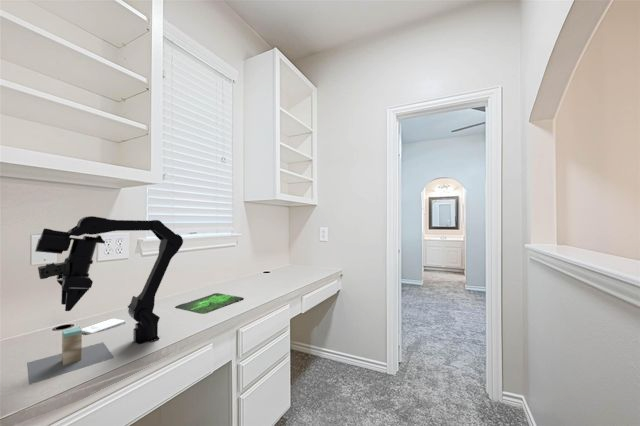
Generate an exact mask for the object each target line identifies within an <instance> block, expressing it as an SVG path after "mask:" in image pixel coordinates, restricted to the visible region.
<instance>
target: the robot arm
mask: <svg viewBox="0 0 640 426" xmlns="http://www.w3.org/2000/svg"><path fill="white" fill-rule="evenodd" d="M116 231H117V232H118V231H119V232H121V231H123V232H126V231H127V232H128V231H130V232H131V231H133V232H134V231H151V232H152V233H153V234H154V236H155V237H156V238H157V239H159V241H160V242H159V246H158V255H157V257H156V260H155V262H154V263H153V266H152V268H151V271H150V274H149V275H148V277H147V279H146V282H145V284H144V286H143V289H142V291H141V292H140V293H139V295H137V296H135V295H133V296H132V298H131V300H130V303H129V305H127V309H128V311H127V312H128V315H129V317H131V318H132V319H133V320H134V321H135V322H136V323H134V325H135V326H134V327H135V328H133V331H132V332H133V335H132V336H133V337H132V338H133V341H134V342H135V343H136V344H137V345H141V344H145V343H148V342H149V343H150V342H154V341H157V340H160V336H158V332H159V331H158V330H159V329H158V328H159V327H158V326H159V325H158V323H159V321H160V316H158V315H157V314H156V313H154V307H155V298H156V294H157V292H158V290H159V288H160V285H161V283H162V280H163V278H164V276H165V274H166V273H167V272H166V271H167V269H168V266H169V265H170V262H171V260H172V259H173V257H174V256H175V255H176V254H177V253H178V252H179V250H180V249H181V247H182V246H183V244H184V239H183V237H182V236H181V235H180V234H178V233H175V232H174V231H173V230H172V229H170V228H168V227H167V226H166V225H165V224H164V223H163V222H162V221H161V220H159V219H152V220H132V219H130V220H129V219H128V220H127V219H126V220H125V219H121V220H120V219H112V218H111V219H110V218H106V217H105V218H104V217H101V216H94V215H93V216H90V215H88V216H84V217H81V218H80V219H79V220H78V222H77V225H75V226H74V227H73V228H71V229H69V230H68V231H61V230H54V229H50V228H43V230H42V233H41V234H40V236H39V238H38V240H37V244H36V246H35V250H34V251H35V252H37V253H38V252H39V253H47V254H48V253H49V254H57V255H58V254H60V255H62V254H63V252H67V251H69V254H68V256H67V257H66V258H64V261H63V262H57V263H54V262H52V263H47V264H45V265H41V266H38V267H37V270H38V277H39V279H40V280H45V279H48V278H52V277H56V282H57V283H58V284H59V285H60V286H61V300H60V301H61V302H60V303H61V305H65V307H64V308H65V309H64V311H66V312H70V311H72V309H73V308H74V307H75V306H76V304H78V302H79V301H80V300H81V299H82V297H83V296H84V295H85V294H86V293H88V291H89V290H90V289H91V288H92V285H93V282H94V281H93V280H92V279H91V277H90V274H89V271H90V269H91V268H90V267H91V265H92V264H93V263H94V261H93V258H94V255H95V254H94V253H95V251H96V250H95V249H96V247H97V244H105V243H106V241H105V240H104V239H103V238H102V236H101V235H99V234H105V233H111V232H116ZM83 235H84V236H83ZM88 235H91V236H88ZM92 235H97V236H92ZM71 236H73V237H71ZM79 236H83V237H82V238H78V237H79ZM71 242H72V244H71ZM69 248H70V250H69Z"/></svg>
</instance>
